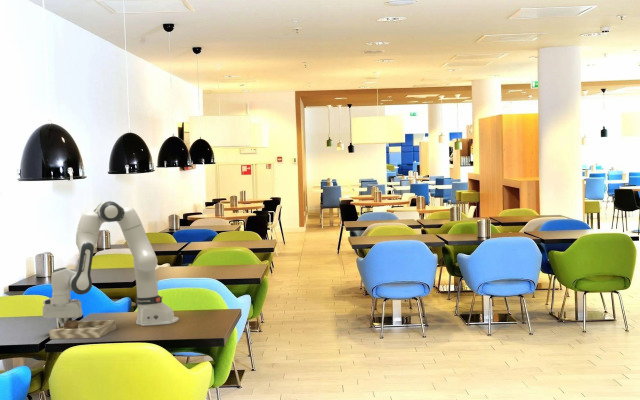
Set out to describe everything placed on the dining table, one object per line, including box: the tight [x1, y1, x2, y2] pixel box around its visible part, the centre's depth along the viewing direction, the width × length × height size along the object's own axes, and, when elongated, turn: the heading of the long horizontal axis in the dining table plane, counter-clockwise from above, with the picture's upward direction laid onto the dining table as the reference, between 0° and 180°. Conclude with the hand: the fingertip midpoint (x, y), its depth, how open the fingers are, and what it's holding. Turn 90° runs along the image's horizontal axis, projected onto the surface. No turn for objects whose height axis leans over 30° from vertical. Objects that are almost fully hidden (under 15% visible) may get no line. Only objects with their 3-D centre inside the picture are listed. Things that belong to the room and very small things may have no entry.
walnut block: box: [64, 319, 79, 329], centre depth 371 cm, size 5×5×4 cm
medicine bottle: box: [55, 318, 73, 329], centre depth 390 cm, size 7×7×12 cm
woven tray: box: [48, 319, 117, 340], centre depth 371 cm, size 26×20×4 cm
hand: (63, 326), depth 372 cm, fingers closed
